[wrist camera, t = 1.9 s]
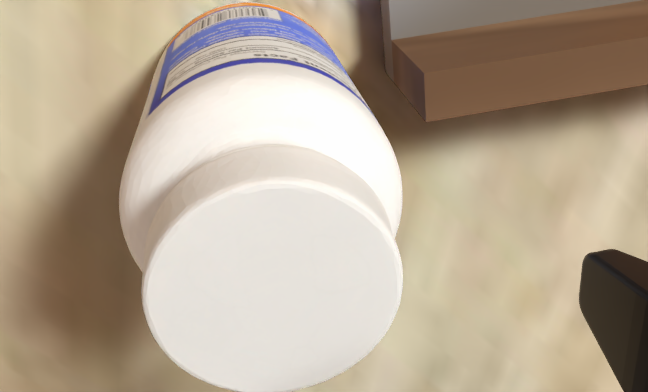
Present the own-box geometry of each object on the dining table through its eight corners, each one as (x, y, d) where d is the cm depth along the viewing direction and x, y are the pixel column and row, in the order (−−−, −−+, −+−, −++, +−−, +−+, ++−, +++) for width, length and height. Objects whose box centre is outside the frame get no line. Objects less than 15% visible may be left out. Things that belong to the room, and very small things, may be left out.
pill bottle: (291, 203, 20) (348, 460, 11) (123, 138, 18) (40, 388, 9) (376, 49, 18) (521, 221, 9) (197, -41, 16) (177, 70, 7)
